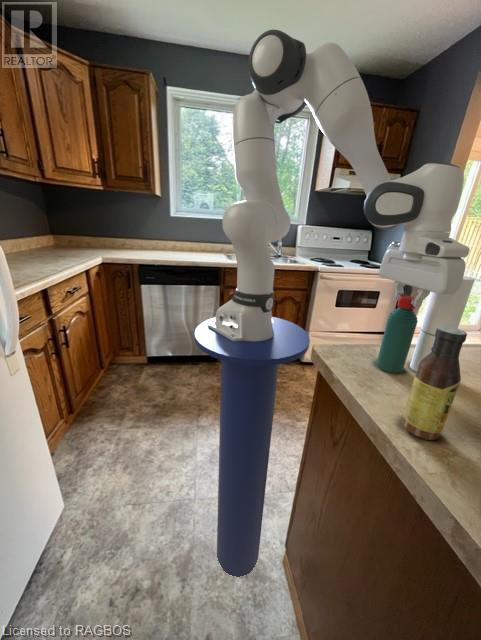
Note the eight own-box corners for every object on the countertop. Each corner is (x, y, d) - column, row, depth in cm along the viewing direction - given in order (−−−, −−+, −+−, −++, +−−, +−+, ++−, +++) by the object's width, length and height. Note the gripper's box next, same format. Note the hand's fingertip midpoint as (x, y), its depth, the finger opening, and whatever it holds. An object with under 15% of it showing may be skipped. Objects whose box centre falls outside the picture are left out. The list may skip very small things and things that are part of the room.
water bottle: (373, 367, 72) (390, 299, 65) (379, 358, 77) (396, 294, 70) (400, 376, 68) (421, 305, 62) (405, 366, 73) (425, 299, 66)
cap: (405, 309, 64) (407, 299, 63) (393, 304, 68) (395, 295, 67) (418, 309, 65) (421, 299, 64) (406, 304, 69) (409, 295, 68)
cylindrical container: (443, 380, 68) (478, 281, 59) (410, 371, 71) (439, 276, 62) (439, 367, 73) (471, 276, 65) (409, 360, 77) (435, 272, 68)
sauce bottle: (442, 447, 46) (482, 342, 40) (400, 433, 49) (432, 332, 42) (437, 424, 52) (472, 328, 45) (400, 413, 55) (428, 321, 48)
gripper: (379, 240, 70) (368, 292, 75) (452, 249, 51) (431, 317, 56) (400, 241, 71) (388, 292, 76) (478, 249, 53) (456, 316, 58)
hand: (407, 303), depth 66 cm, fingers closed on cap, 4 cm apart
